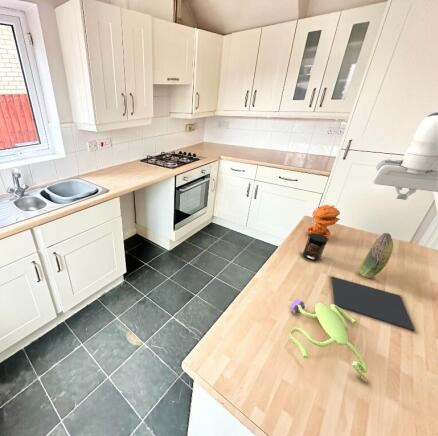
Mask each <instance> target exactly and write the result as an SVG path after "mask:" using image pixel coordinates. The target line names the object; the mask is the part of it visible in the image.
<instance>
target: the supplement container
mask: <svg viewBox="0 0 438 436" xmlns="http://www.w3.org/2000/svg"><path fill="white" fill-rule="evenodd" d="M328 241H329V239H327V237H325V236H323V235H321V234H317V233H309V235H308V237H307V241H306V243H305V246H304V249H303V252H302V256H303V258H304V259H306V260H307V261H310V262H318V261H320V260H321V258H322V256H323V254H324V250H325V248H326V246H327V244H328Z"/></svg>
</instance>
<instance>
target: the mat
mask: <svg viewBox="0 0 438 436" xmlns="http://www.w3.org/2000/svg"><path fill="white" fill-rule="evenodd" d="M331 283H332V293H333V304H335V305H337V306H338V307H339V308H341V309H343V310H347V311H349V312H353V313H357V314H359V315H363V316H365V317H368V318H371V319H375V320H378V321H381V322H384V323H387V324H390V325H394V326H397V327H399V328H403V329H406V330H409V331H412V332H415V327H414V325H413V322H412V320H411V318H410V315H409V313H408V311H407V308H406V306H405V304H404V301H403V299H402V297H401V295H399V294H396V293H393V292H389V291H385V290H382V289H378V288H375V287H371V286H367V285H364V284H360V283H357V282H353V281H351V280H350V281H349V280H346V279H342V278H339V277H335V276H331Z"/></svg>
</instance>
